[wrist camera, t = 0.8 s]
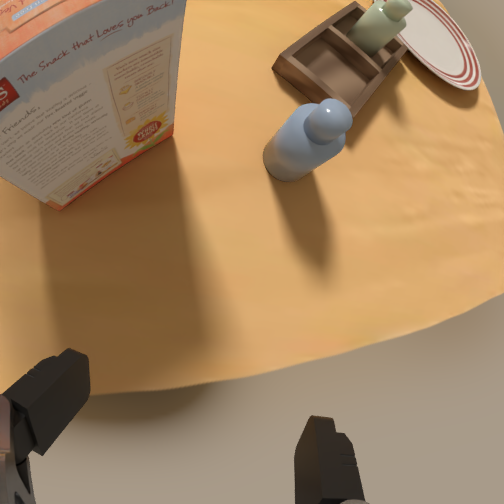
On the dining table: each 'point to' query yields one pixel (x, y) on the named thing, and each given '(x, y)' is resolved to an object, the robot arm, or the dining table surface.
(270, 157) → the blue bottle
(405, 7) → the green bottle
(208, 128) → the dining table surface
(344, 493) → the robot arm
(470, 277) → the dining table surface
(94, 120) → the cracker box
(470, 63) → the dinner plate
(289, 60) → the caddy
